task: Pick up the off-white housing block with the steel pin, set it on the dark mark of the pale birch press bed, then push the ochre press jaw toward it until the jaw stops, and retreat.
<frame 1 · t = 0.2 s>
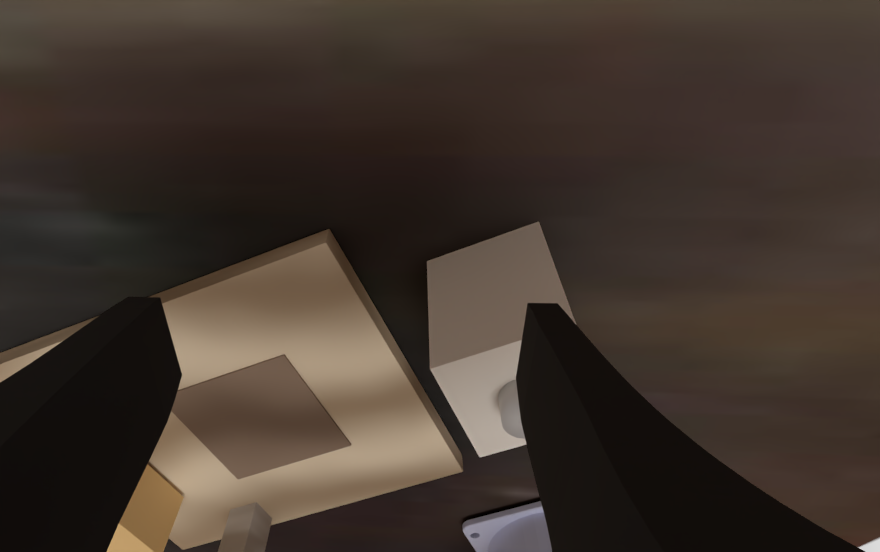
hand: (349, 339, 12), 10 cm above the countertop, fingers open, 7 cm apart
press bed: (245, 410, 26), on the countertop
press jaw: (111, 495, 25), point 3 cm above the countertop, slide at 0.0 cm
housing: (500, 285, 23), on the countertop
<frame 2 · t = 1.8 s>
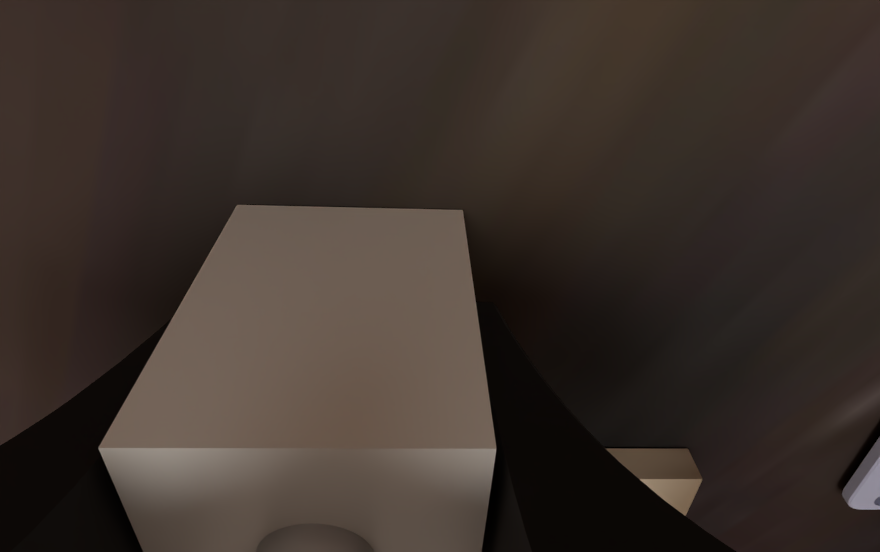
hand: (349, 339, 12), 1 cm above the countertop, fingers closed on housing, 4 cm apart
housing: (355, 298, 13), on the countertop, touching gripper
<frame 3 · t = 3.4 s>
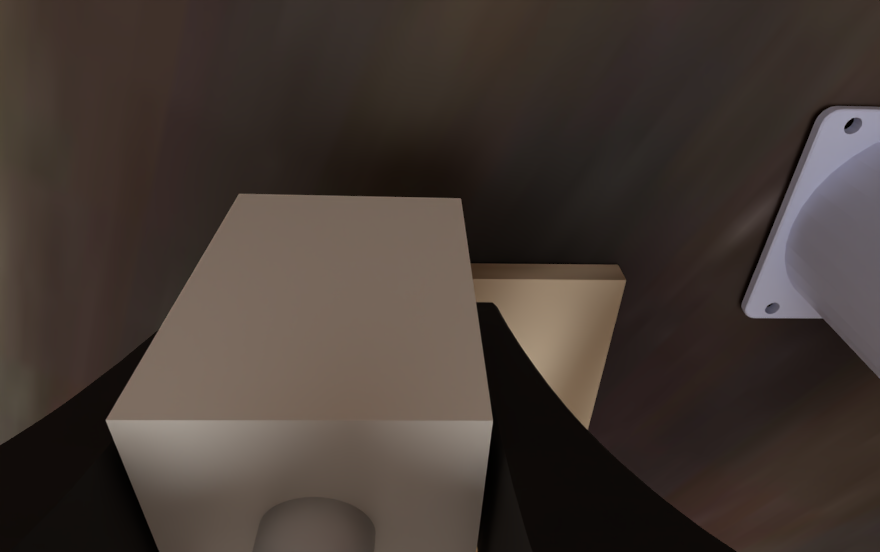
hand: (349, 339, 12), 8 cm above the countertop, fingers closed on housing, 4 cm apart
press bed: (421, 417, 25), on the countertop
housing: (355, 286, 13), point 7 cm above the countertop, touching gripper
when the fingers open (4 cm above the countertop, at t = 5.3 s): housing stays where it is, resting on press bed.
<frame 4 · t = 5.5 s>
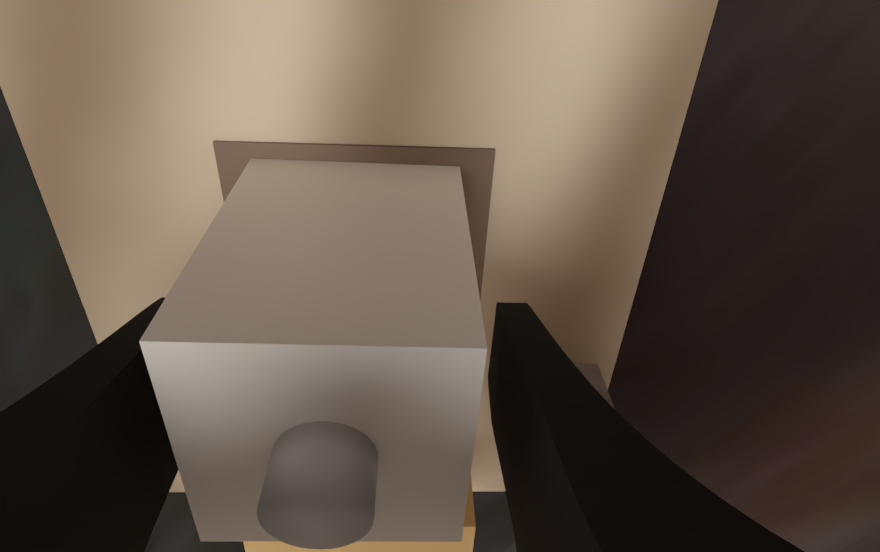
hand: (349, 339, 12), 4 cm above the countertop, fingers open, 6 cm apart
press bed: (365, 273, 15), on the countertop
press jaw: (364, 499, 17), point 3 cm above the countertop, slide at 0.0 cm
housing: (358, 250, 14), point 1 cm above the countertop, touching press bed
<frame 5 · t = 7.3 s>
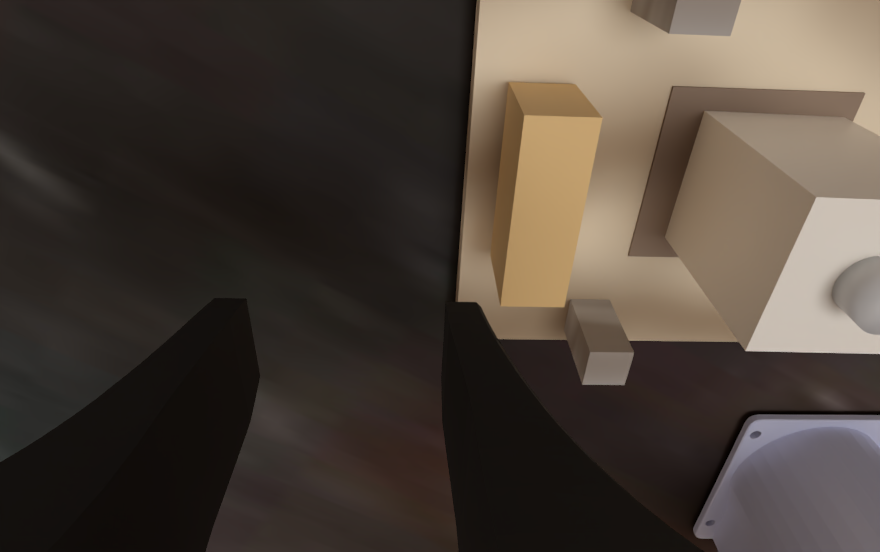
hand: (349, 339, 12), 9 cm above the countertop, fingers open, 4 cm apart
press bed: (695, 167, 20), on the countertop
press jaw: (537, 197, 17), point 3 cm above the countertop, slide at 0.0 cm
housing: (749, 180, 19), point 1 cm above the countertop, touching press bed
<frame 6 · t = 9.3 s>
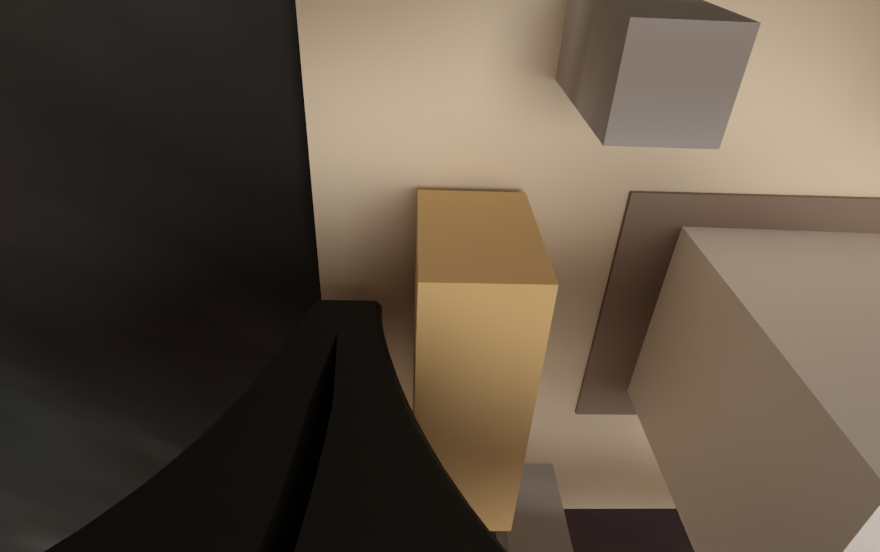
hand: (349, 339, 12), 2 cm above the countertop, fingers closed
press bed: (671, 290, 14), on the countertop
press jaw: (466, 367, 11), point 3 cm above the countertop, slide at 1.0 cm, touching gripper
housing: (751, 319, 13), point 1 cm above the countertop, touching press bed
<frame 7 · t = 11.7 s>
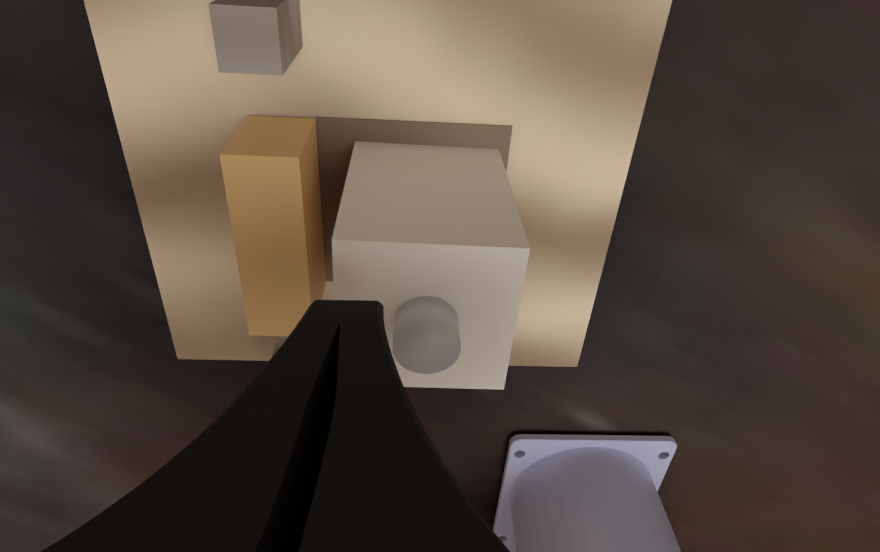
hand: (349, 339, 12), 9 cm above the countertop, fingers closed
press bed: (383, 194, 20), on the countertop
press jaw: (281, 229, 18), point 3 cm above the countertop, slide at 3.0 cm
housing: (423, 209, 19), point 1 cm above the countertop, touching press bed
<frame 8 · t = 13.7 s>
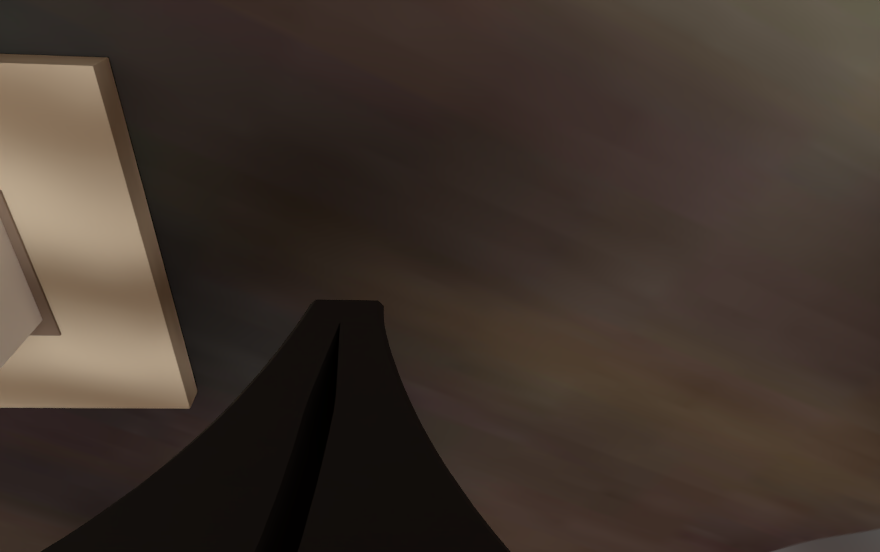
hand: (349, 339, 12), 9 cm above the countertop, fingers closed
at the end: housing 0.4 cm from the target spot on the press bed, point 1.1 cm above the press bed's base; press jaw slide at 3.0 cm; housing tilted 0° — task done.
